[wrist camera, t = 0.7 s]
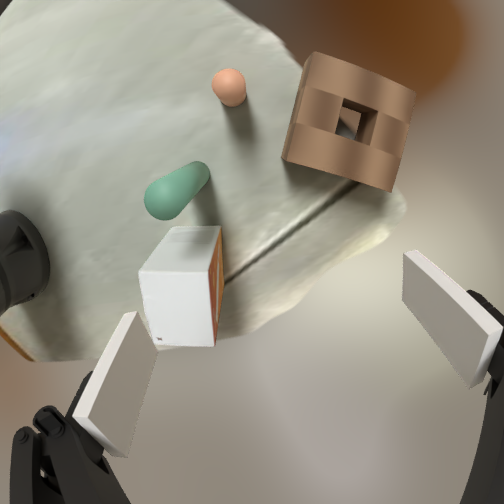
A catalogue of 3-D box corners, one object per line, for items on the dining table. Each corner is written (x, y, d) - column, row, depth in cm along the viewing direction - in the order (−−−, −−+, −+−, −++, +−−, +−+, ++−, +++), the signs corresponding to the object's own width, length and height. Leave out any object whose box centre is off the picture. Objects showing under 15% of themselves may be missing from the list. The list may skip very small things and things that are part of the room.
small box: (225, 283, 38) (215, 349, 26) (178, 283, 38) (151, 346, 26) (222, 223, 35) (208, 271, 23) (171, 224, 35) (135, 271, 23)
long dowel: (182, 184, 33) (142, 216, 20) (186, 159, 32) (147, 176, 19) (207, 188, 34) (180, 224, 21) (212, 164, 32) (187, 183, 20)
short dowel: (216, 104, 30) (208, 96, 23) (222, 80, 29) (216, 66, 22) (242, 109, 30) (241, 102, 24) (248, 84, 29) (248, 72, 23)
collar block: (281, 157, 32) (286, 160, 28) (304, 62, 28) (313, 51, 23) (373, 184, 33) (391, 192, 29) (396, 96, 29) (416, 92, 24)
